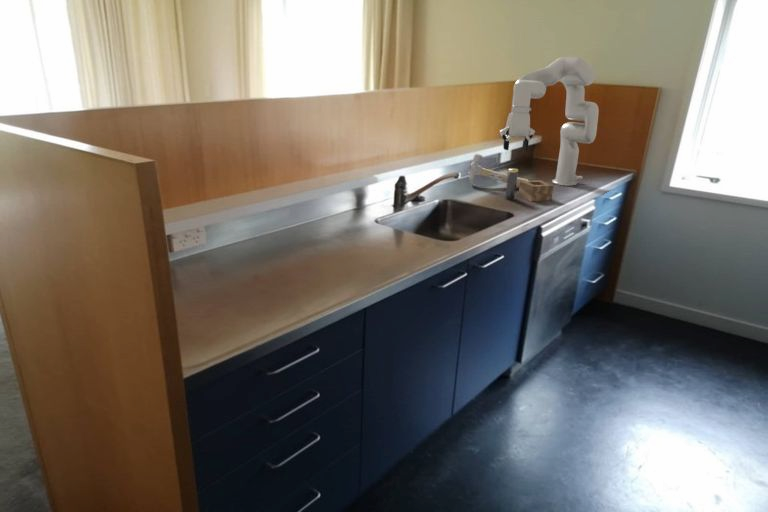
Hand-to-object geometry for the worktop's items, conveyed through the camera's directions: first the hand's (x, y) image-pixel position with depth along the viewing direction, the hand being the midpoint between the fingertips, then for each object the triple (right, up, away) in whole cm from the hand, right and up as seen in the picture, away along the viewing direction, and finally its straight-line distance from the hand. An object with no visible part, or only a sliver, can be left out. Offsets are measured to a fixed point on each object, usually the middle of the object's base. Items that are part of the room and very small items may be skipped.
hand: (515, 149), depth 240 cm
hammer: (-2, -13, +30) cm, 33 cm away
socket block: (+12, -21, +12) cm, 27 cm away
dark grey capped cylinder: (-1, -21, +8) cm, 23 cm away
